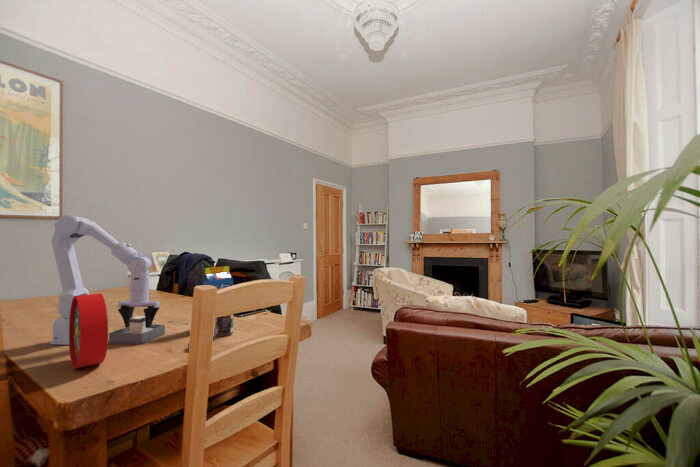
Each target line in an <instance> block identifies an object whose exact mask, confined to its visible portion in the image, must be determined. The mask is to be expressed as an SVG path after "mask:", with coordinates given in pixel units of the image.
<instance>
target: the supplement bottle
mask: <svg viewBox="0 0 700 467" xmlns="http://www.w3.org/2000/svg"><path fill="white" fill-rule="evenodd" d="M216 329H217V330H218V333H217V335H216V336H217V337H227V336H230V335H232V334H233V331H234V313H233V314H231V315H226V316H221V317H217V319H216Z"/></svg>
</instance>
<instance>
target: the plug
mask: <svg viewBox="0 0 700 467" xmlns="http://www.w3.org/2000/svg"><path fill="white" fill-rule="evenodd" d="M129 322H130V325H129V333H143V332H145V331H148V328H146V326H145V315H136V316H132V318H130V319H129Z"/></svg>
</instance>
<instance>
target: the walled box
mask: <svg viewBox="0 0 700 467" xmlns="http://www.w3.org/2000/svg"><path fill="white" fill-rule="evenodd" d="M165 328H166V325H165V324H155V323H154V324H153V323H152V325H151V327H149V328H148V331H145V332H143V333H129V327H123V328H119V329H117V330H114V331H111V332H108V344H121V345H122V344H125V345H126V344H127V345H143V344H146V343H148V342H150V341H152V340H154V338H155V339H156V337H157V338H159V337H160V336H161V337H162V336H163V335H165V333H166V331H165V330H166V329H165ZM158 336H159V337H158Z"/></svg>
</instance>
